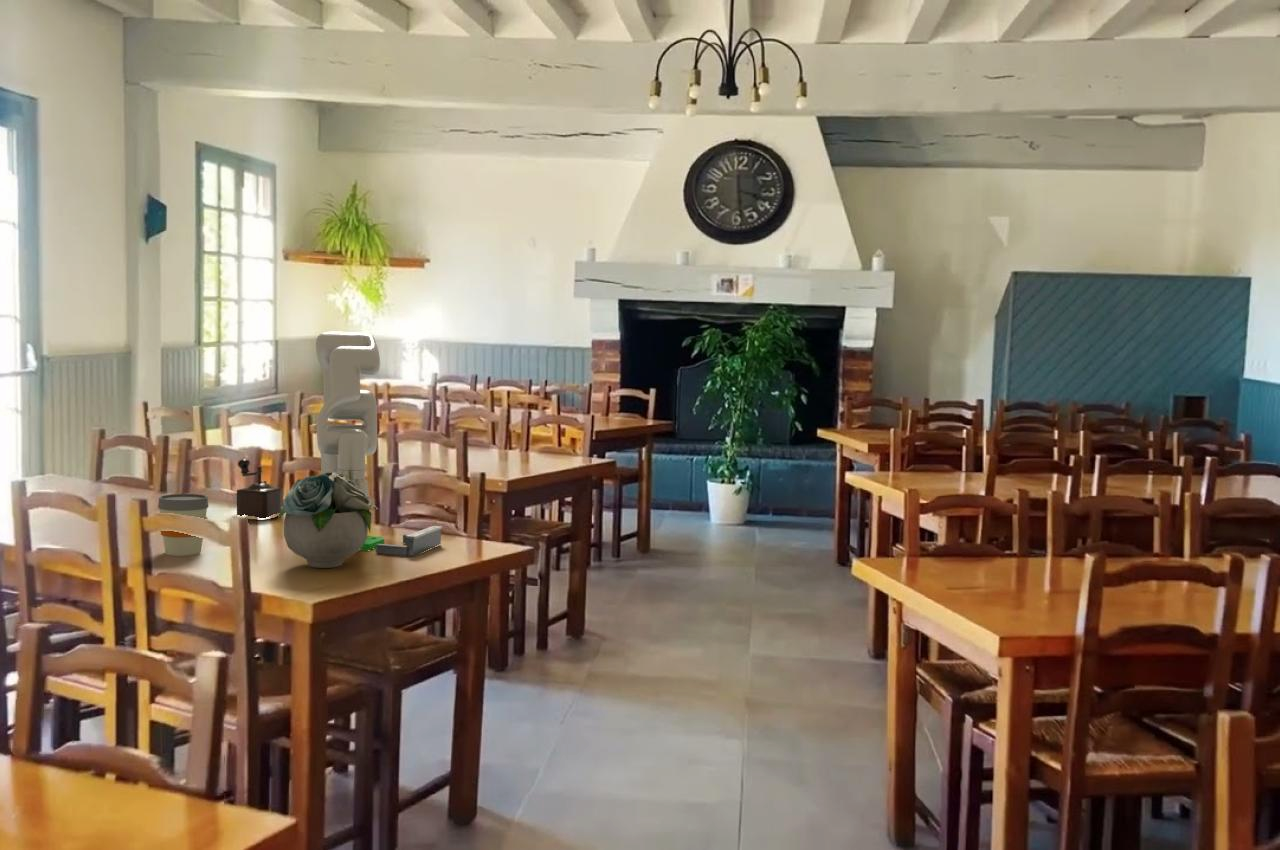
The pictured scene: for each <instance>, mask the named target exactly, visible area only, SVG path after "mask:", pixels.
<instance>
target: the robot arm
mask: <svg viewBox="0 0 1280 850" xmlns="http://www.w3.org/2000/svg"><path fill="white" fill-rule="evenodd" d="M315 352H316V357H317V360H318V363H319V366H320V370H321V371H322V372H321V373H322V376H323V405H322V407H321V409H320V410H319V413H318V415H317V419H316V436H317V437H316V442H317V449H318V451H319V452H320V466H321V467H320V468H321V469H320V472H321V473H320V475H321V474H325V473H336V474H343V477H344V476H345V474H347V475H348V477H349V480H350V481H352V482H354V481H356V480H355V479H358V481H359V486H358V487H359V489H361V491H362V492H364V493H365V495H367V496H368V497H369V498H370V494H369V491H370V490H369V484H368V481H367V480H366V456H372V455H374V454H375V453H376V451H377V447H378V408H377V406H378V405H377V404H378V403H377V399H376V396H375V394H374V392H373V391H370V390H367V389H361V375H366V376H372V375H374V376H375V375H377V374H378V372H379V370H380V367H381V357H380V351H379V349H378V344H377V343H376V340H375V337H374V336H373V334H372V333H367V332H346V331H327V332H322V333H320V334H319V335H318V336H317V337H316V340H315ZM328 420H333V421H334V420H335V421H359V422H360V423H361V424H328ZM368 504H369V505H370V503H368Z"/></svg>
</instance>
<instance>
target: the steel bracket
mask: <svg viewBox="0 0 1280 850" xmlns="http://www.w3.org/2000/svg"><path fill="white" fill-rule="evenodd" d="M442 529H443V526H442V525H440V526H439V525H431V526H428V527H426V528H424V529H421V530H418V531H414V532H412V533H410V534H408V533H405V534H402V544H403V543H407V544H406V545H399V544H397V545H396V544H388V543H384V544H377V545H376V548H375V554H376V553H381V554H380V555H386V554H390V555H389V556H397V555H401V557H409V556H411V557H410V558H414V557H416V556H419V555H421V554H423V553H422V552H424V551H426V550H428V549H430V548H433V547H435V546H437V545H439V544H442V543H441V542H442V541H441V540H442V537H441V536H442V534H441V533H442ZM433 549H434V548H433ZM426 552H427V551H426ZM420 553H421V554H420ZM424 553H425V552H424ZM418 554H419V555H418ZM413 556H414V557H413Z"/></svg>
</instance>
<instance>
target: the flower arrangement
mask: <svg viewBox="0 0 1280 850" xmlns="http://www.w3.org/2000/svg"><path fill="white" fill-rule="evenodd" d="M355 480H356V481H354V482H352V481H350V480H349V477H348V475H347V474H345V476H344V477H343V474H336V473H325V474H321V473H320V474H319V475H312V476H307V477H304V478H301V479H300V478H298V479H297V480H296V481H295V482H294V483H292V485H291V488H290V490H289V491H288V492H287V493H286V494H285V497H284V499H283V500H282V501H283V502H282V509H281V511H280V514H279V516H278V518H276V520H277V521H278V520H279V519H280V518H281V517H283V516H284V520H283V536H284V539H285V542H286V546H287V548H288V549H289V550H290V551H292V552H293V553H294V554H295V555H296V556H299V557H301V558H303V559H305V560H306V562H307V565H308V566H309V567H311V568H316V569H317V568H318V569H332V568H337V567H338V568H339V567H341V566H342V565H343V564H344V561H345V559H347V558H348V557H350V556H352V555H354V554H356V553H357V552H358V551H360V550H359V549H360V548H361V547H362V546H364V543H365V540H366V537H367V536H368V533H371V529H372V528H371V527H372V525H371V524H372V512H370V510H372V511H373V512H375V510H377V511H378V510H379V508H378V507H377V506H376V505H375V504H373V502H374V501H373V499H372V498H370V496H369V497H368V496H367V495H365V493H364V492H362V491H361V489H359V487H358V486H359V481H358V479H355ZM368 503H369V504H368ZM368 531H369V532H368Z"/></svg>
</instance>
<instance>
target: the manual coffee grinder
mask: <svg viewBox="0 0 1280 850" xmlns="http://www.w3.org/2000/svg"><path fill="white" fill-rule="evenodd" d="M250 464H251V462H250V460H248V459H246V458H242V459H239V460H238V461H237V466H238V468H239V469H240V470H241V471H240V474H241V476H242V477H249V476H256V475H257V482H254V483H252V484H250V485H248V486H247V487H245V488H244V487H243V488H239V489H237V490H236V516H237V515H240V516H242V515H244V514H245V515H248V516H255V517H259V518H266V517H269V516H271V515H273V514H277V513H280V511H281V509H282V504H283V502H282V501H283V488H282V487H275V486H274V485H270V484H269V483H267V480H265V481H262V473H263V471H262V466H260V465H258V466H257V467H256V468H257V471H255V472H251V471H250V470H249V467H250Z"/></svg>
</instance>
